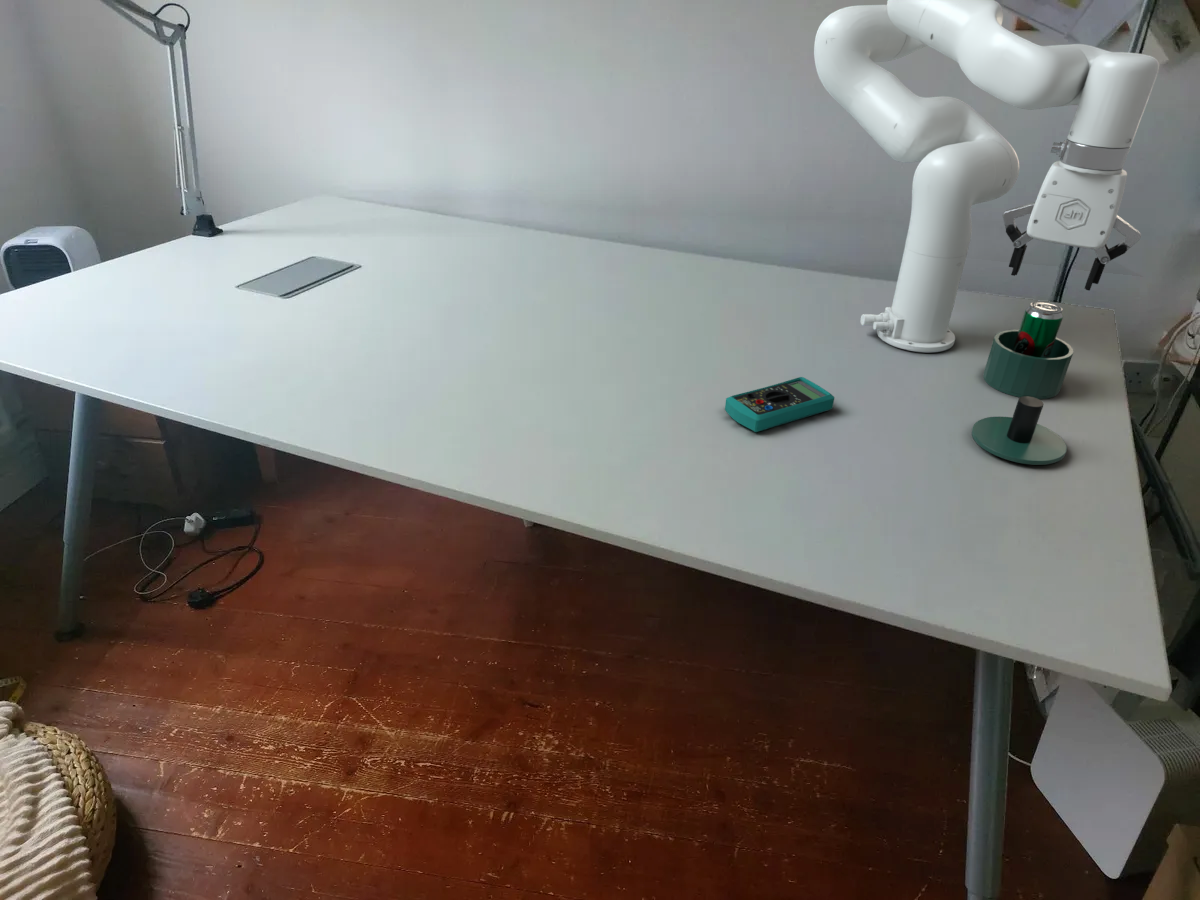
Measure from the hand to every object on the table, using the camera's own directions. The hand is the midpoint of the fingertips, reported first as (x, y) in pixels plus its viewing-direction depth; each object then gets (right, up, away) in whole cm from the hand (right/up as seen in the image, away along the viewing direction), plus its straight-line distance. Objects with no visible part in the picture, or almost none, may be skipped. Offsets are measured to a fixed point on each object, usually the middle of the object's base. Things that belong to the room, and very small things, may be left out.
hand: (1050, 279), depth 116 cm
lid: (-9, -23, -8) cm, 26 cm away
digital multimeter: (-39, -19, -1) cm, 44 cm away
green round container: (0, -14, +8) cm, 16 cm away
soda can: (0, -14, +8) cm, 16 cm away
